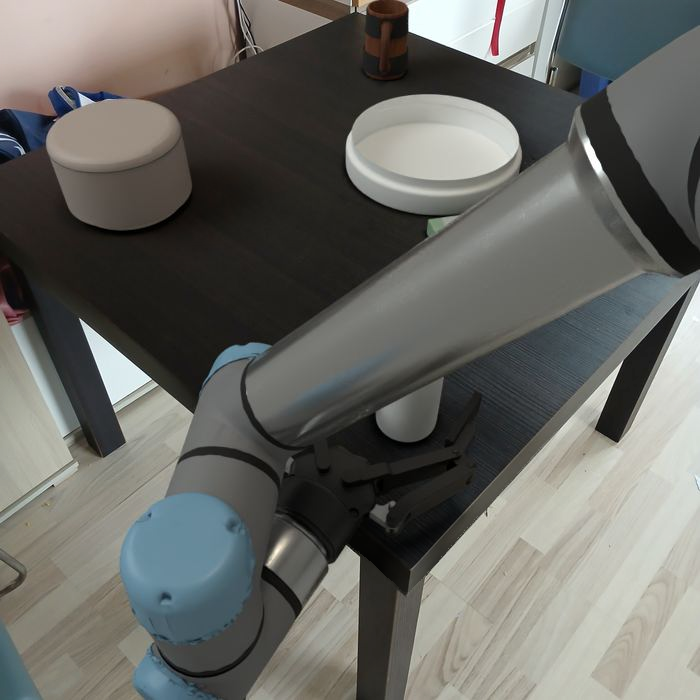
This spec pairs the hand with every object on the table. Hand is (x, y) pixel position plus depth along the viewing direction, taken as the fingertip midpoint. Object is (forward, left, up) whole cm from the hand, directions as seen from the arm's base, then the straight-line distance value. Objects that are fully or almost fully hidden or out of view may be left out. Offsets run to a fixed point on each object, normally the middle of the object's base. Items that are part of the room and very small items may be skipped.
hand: (415, 373), depth 67 cm
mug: (+78, -18, -7) cm, 80 cm away
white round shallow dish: (+46, -17, -7) cm, 50 cm away
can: (-1, +1, -7) cm, 7 cm away
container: (+47, +29, -7) cm, 56 cm away
